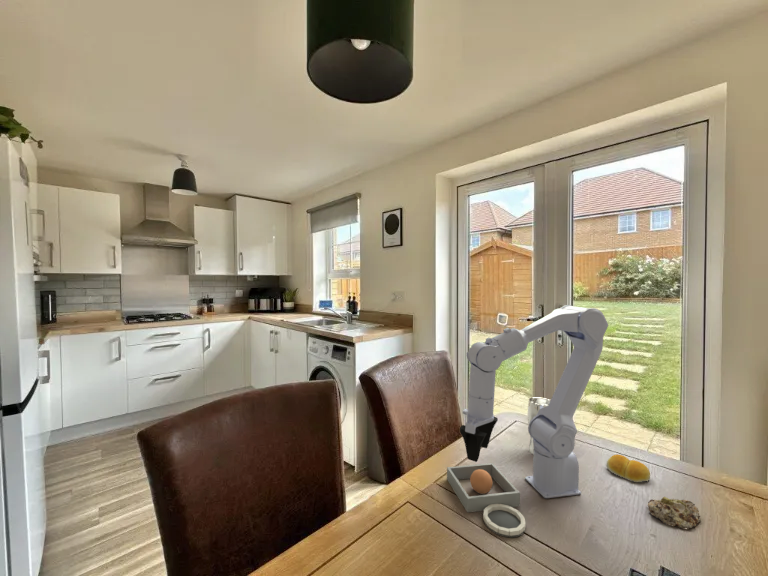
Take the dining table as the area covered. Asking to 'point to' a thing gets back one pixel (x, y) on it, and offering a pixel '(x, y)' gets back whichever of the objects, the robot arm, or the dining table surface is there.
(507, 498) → the low pen
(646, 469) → the bread roll
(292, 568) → the dining table surface
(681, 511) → the mineral rock
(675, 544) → the dining table surface
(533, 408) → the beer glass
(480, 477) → the orange ball
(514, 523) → the ring
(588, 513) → the dining table surface
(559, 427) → the robot arm
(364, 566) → the dining table surface
